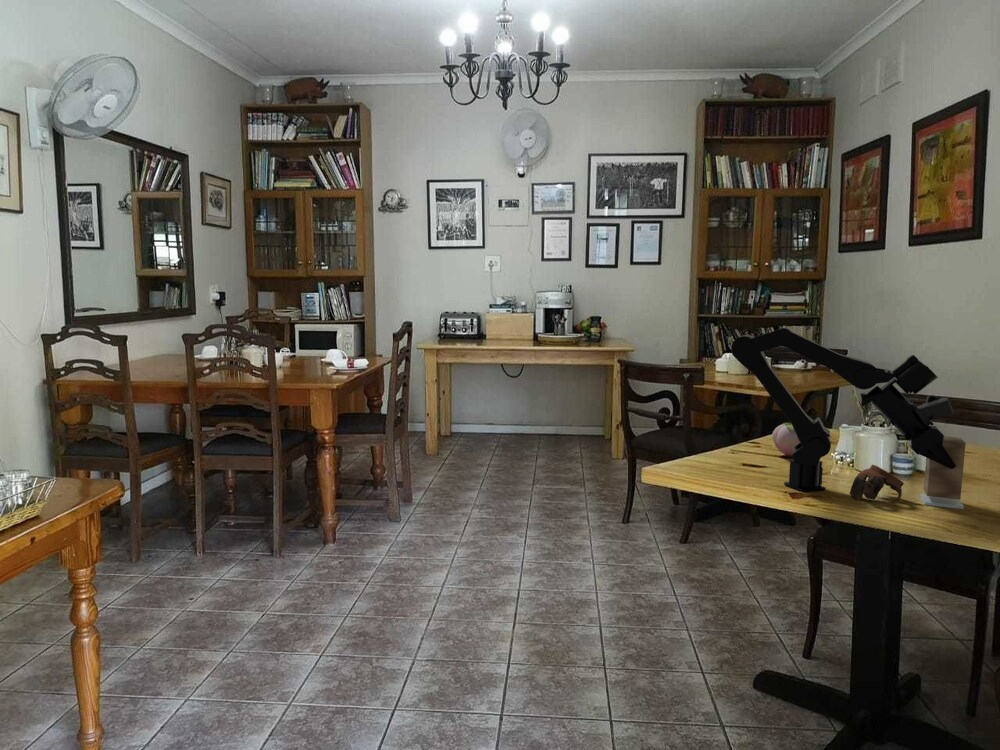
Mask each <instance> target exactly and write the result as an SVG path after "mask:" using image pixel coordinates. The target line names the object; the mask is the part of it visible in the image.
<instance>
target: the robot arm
mask: <svg viewBox="0 0 1000 750" xmlns="http://www.w3.org/2000/svg"><path fill="white" fill-rule="evenodd" d="M778 347H784V348H787V349H788V350H791V351H793V352H794V353H797V354H799V355H801V356H804V357H805V358H807V359H810V360H812V361H814V362H815V363H818V364H820V365H822V366H824V367H825V368H828V369H830V370H832V371H833V372H834V373H836V375H837V376H840V377H841V378H842V379H844V380H845V381H846V382H848V383H849V384H851V385H852V386H854V387H855V388H856V389H860V390H868V389H870V390H869V391H868V392H866V393H865V392H860V394H859V395H860V405H861V407H865V406H867V405H868V404H869V403H871V404H872V405H873V406H874V407H875V408H876V409H877V410H878V412H880V414H881V415H883V417H884V418H886V419H887V420H888V422H889V423H890V424H891V426H893V427H894V428H896V430H897V431H898V432H899V433H900V434H901V435H902V436H903V438H904V439H905V440H906V441H908V445H909V447H910V449H911V450H912V451H913V452H914V453H915V454H916V455H919V456H922V457H924V458H925V459H926V458H929V459H931V460H933V461H935V462H937V463H939V464H942V465H944V466H946V467H948V468H950V469H953V468H955V467H956V465H955V463H954V462H953V460H952V459H951V457H950V456H949V454H948V453H947V451H946V450H945V448H944V447H943V439H944V436H945V435H944V434H943V433H942V431H941V430H939V428H938V427H937V426H936V425H935V424H934V422H933V421H934V420H937V419H940V418H942V417H949V416H952V415H954V414H955V411H954V409H953V408H952V404H951V402H950V401H949V398H947V397H940V398H939V397H937V396H936V395H935V394H932V395H929V396H927V397H926V400H925V402H924V403H922V404H920V405H916V404H915V403H914V402H911V401H910V400H909V399H907V398H906V396H905V395H903V393H902V392H901V391H900V390H899V389H898V388H897V387H896V386H895V384H896V385H897V386H898V387H899V388H900V389H901V390H902V391H903V392H904V393H905V394H906V395H908V394H912V393H913V394H914V395H917V394H918V393H920V392H921V391H922V390H923V389H925V388H927V387H928V386H929V385H930V384H932V383H933V382H934V381H936V380H937V379H938V378H939V377H938V376H937V374H936V373H935V372H934V371H933V370H932V369H930V368H929V366H928V365H926V364H924V362H922V361H921V360H919V358H918V357H916V355H915V354H911V355H910V356H908V357H907V358H906V359H905V360H904V361H903V362H901V364H900V365H898V366H897V367H896V368H894V369H893V370H889V369H887V368H879V367H876V366H875V365H874V364H873V363H872V362H869V361H867V360H863V359H860V358H857V357H853V356H848V355H845V354H840V353H838V352H836V351H834V350H831V349H830V348H827V347H826V346H823V345H821V344H819V343H817V342H815V341H813V340H811V339H809V338H806V337H804V336H802V335H800V334H798V333H797V332H794V331H792V329H790V328H788V327H780V328H778V329H775V330H773V331H769V332H767V333H763V334H759V335H756V336H753V335H751V334H744V335H741V336H739V337H736V338H735V339H734V340H733V342H732V344H731V347H730V348H731V350H730V351H731V354H732V356H733V357H734V358H735V359H736V360H737V361H738V362H739V363H740V364H741V365H742V366H743V367H744V368H745V369H747V370H748V371H749V372H751V374H753V375H754V376H755V378H756V379H757V380H758V382H760V384H761V385H762V387H763V388H764V389H765V390H766V392H767V393H768V395H769V396H770V397H771V398H772V400H773V401H774V402H775V404H776V405H777V406H778V408H779V409H780V410H781V412H782V413H783V415H784V416H785V418H787V420H788V421H790V423H791V424H792V426H793V428H794V430H795V433H796V435H797V437H798V439H799V441H800V443H799V444H798V445H796V446H795V447H794V448H793V453H792V455H791V457H792V459H789V474H788V481H786V482H783V485H785V486H787V487H790V488H792V489H795V490H798V491H800V492H813V491H824V490H826V489H827V487H826V486H824V485H823V471H824V468H823V467H822V466H823V461H822V460H821V458H823V457H826V456H827V455H828V454H829V453H830V450H831V448H832V444H831V431H830V429H828V428H827V427H825V425H824V423H823V422H822V420H821V418H820V416H818V417H816V418H815V419H813V418H811V417H810V416H809V415H808V414H807V413H806V411H804V409H803V408H802V407H801V405H800V404H799V403H798V401H797V400H796V398H795V397H794V396H793V394H792V393H791V392H790V390H789V389H788V388H787V387H786V385H785V384H784V382H783V381H782V380H781V378H780V377H779V376H778V375H777V373H776V372H775V371H774V369H773V368H772V367H771V365H770V363H769V361H768V358H767V356H766V354H765V352H766V351H769V350H772V349H776V348H778ZM885 383H886V384H885ZM877 384H884V385H882V386H881V387H880V386H879V385H877ZM873 387H874V388H873ZM932 420H933V421H932Z"/></svg>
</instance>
